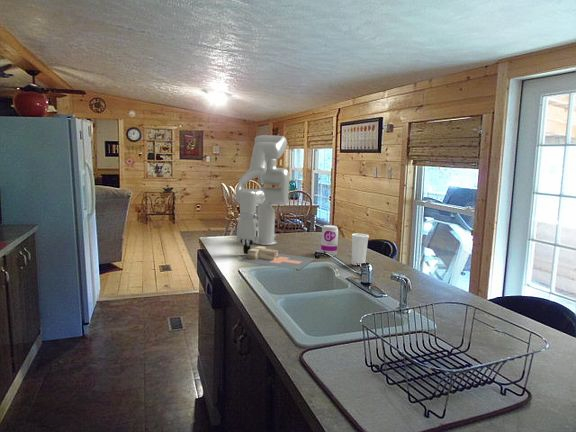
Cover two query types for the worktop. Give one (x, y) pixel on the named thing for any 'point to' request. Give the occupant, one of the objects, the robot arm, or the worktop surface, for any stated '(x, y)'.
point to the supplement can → (329, 239)
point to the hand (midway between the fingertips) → (246, 253)
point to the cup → (359, 248)
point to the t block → (262, 253)
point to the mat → (283, 261)
